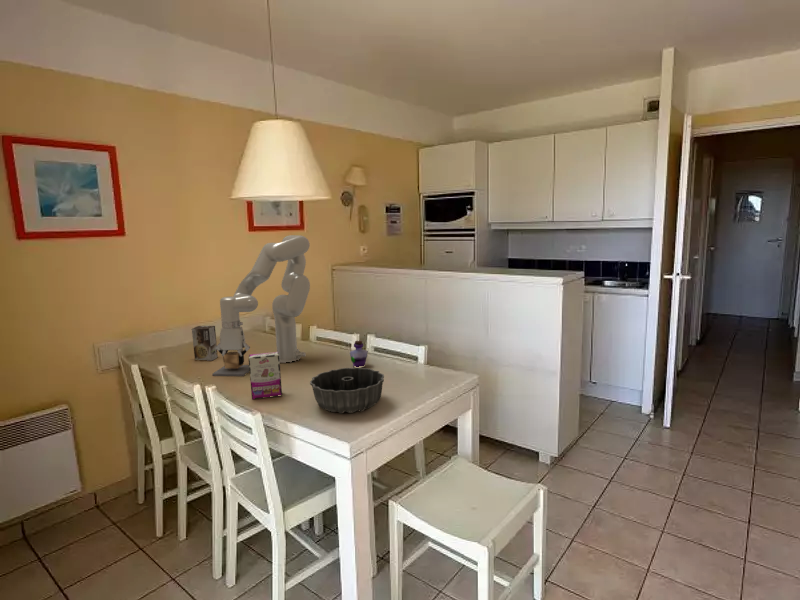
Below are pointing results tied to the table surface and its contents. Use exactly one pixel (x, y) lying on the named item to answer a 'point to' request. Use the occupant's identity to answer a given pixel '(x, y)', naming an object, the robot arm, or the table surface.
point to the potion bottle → (358, 354)
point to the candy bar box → (265, 375)
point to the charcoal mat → (232, 371)
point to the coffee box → (204, 343)
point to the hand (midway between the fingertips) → (234, 363)
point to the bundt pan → (347, 389)
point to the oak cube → (232, 360)
